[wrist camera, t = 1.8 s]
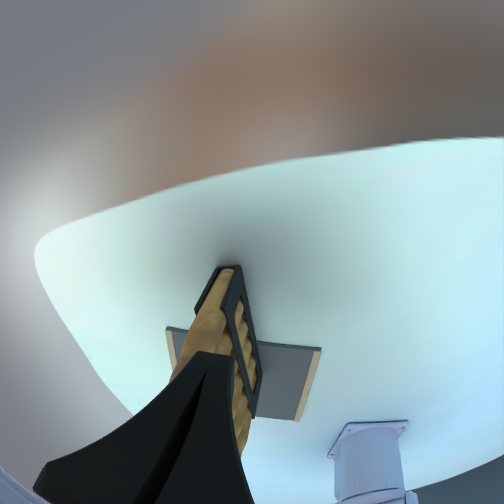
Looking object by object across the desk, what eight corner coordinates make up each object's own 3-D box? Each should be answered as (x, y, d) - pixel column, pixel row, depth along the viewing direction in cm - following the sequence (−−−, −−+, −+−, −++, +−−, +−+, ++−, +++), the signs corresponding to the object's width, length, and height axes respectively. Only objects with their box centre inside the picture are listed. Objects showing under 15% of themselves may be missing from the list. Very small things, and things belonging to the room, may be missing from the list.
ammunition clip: (215, 266, 20) (138, 397, 9) (240, 264, 20) (181, 402, 9) (242, 375, 24) (211, 496, 13) (263, 375, 24) (240, 500, 13)
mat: (299, 417, 27) (299, 421, 27) (181, 399, 28) (179, 403, 28) (321, 347, 22) (321, 352, 22) (167, 326, 24) (164, 330, 23)
